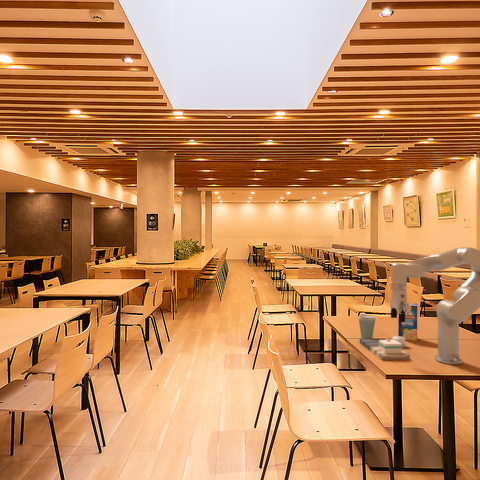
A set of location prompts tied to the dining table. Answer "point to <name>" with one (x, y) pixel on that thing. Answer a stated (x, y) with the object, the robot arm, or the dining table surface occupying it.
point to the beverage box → (409, 323)
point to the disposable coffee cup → (366, 326)
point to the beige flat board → (374, 348)
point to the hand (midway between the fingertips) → (397, 319)
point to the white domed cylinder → (399, 340)
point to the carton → (390, 346)
